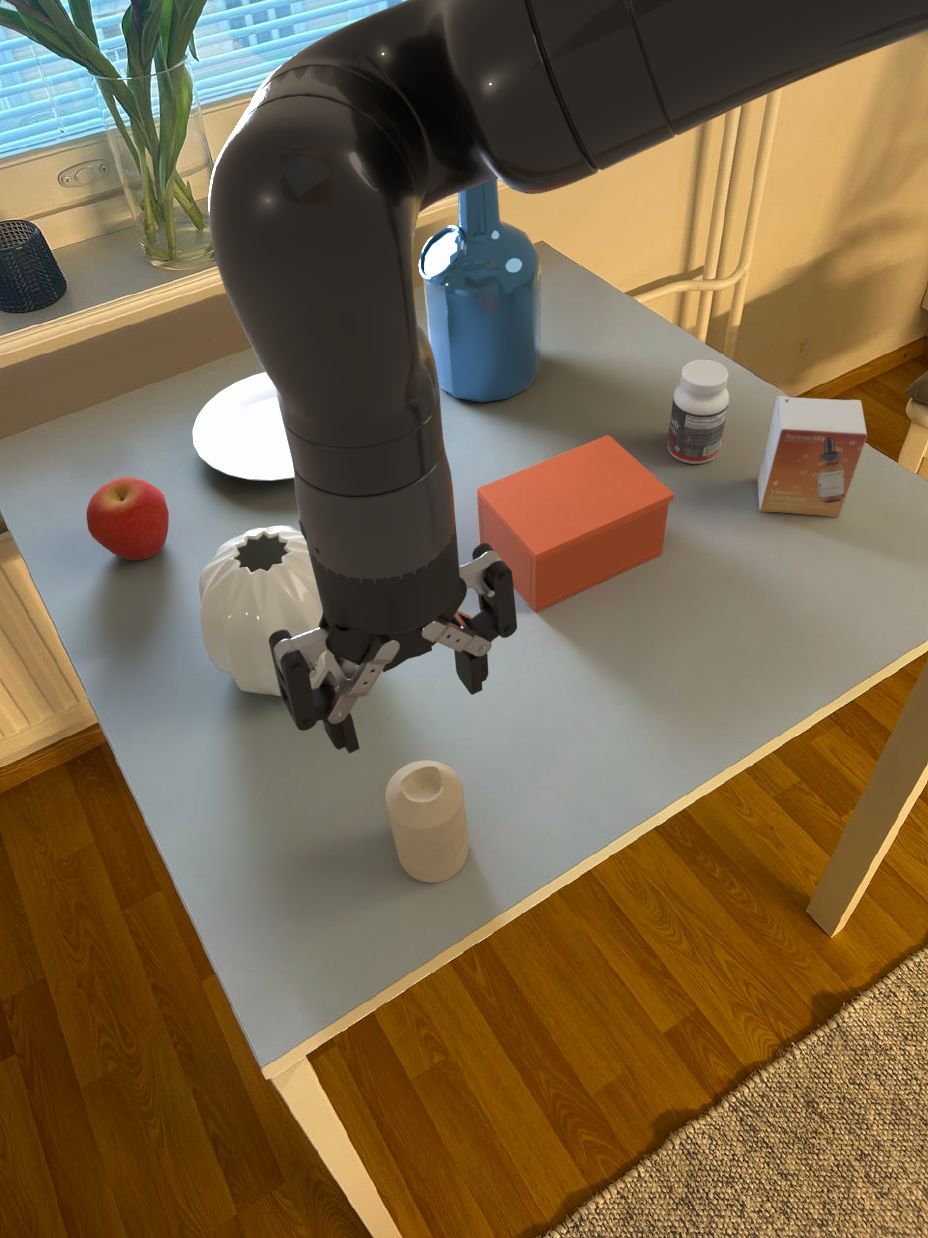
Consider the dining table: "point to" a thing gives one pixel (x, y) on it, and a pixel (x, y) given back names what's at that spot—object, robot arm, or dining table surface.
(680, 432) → the pill bottle
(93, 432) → the dining table surface
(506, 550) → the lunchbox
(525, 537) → the lunchbox lid
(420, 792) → the candle
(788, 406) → the small box
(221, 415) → the plate
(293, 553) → the vase
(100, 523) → the apple
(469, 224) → the wine bottle
